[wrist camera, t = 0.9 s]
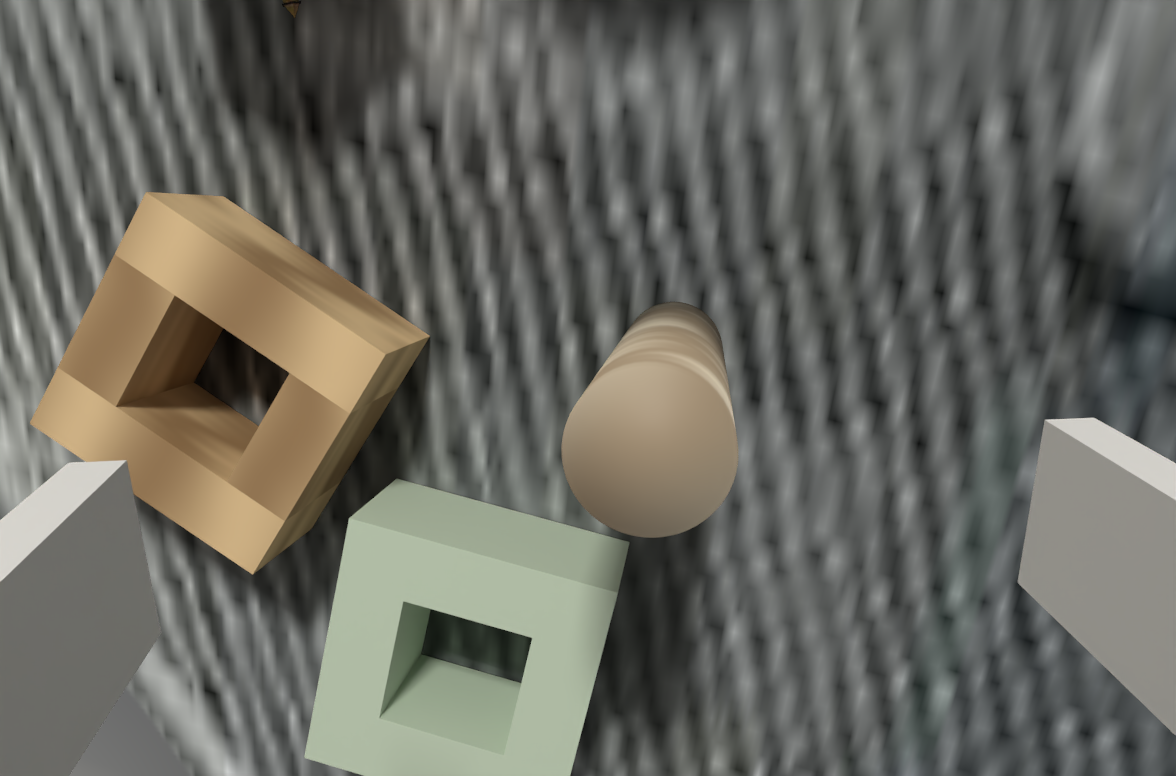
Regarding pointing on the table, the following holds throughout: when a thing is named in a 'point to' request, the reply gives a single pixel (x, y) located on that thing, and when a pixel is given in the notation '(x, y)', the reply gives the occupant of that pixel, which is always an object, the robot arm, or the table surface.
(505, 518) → the sage bead
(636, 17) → the table surface
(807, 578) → the table surface
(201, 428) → the wooden square ring
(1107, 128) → the table surface
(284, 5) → the game die
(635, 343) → the dowel
